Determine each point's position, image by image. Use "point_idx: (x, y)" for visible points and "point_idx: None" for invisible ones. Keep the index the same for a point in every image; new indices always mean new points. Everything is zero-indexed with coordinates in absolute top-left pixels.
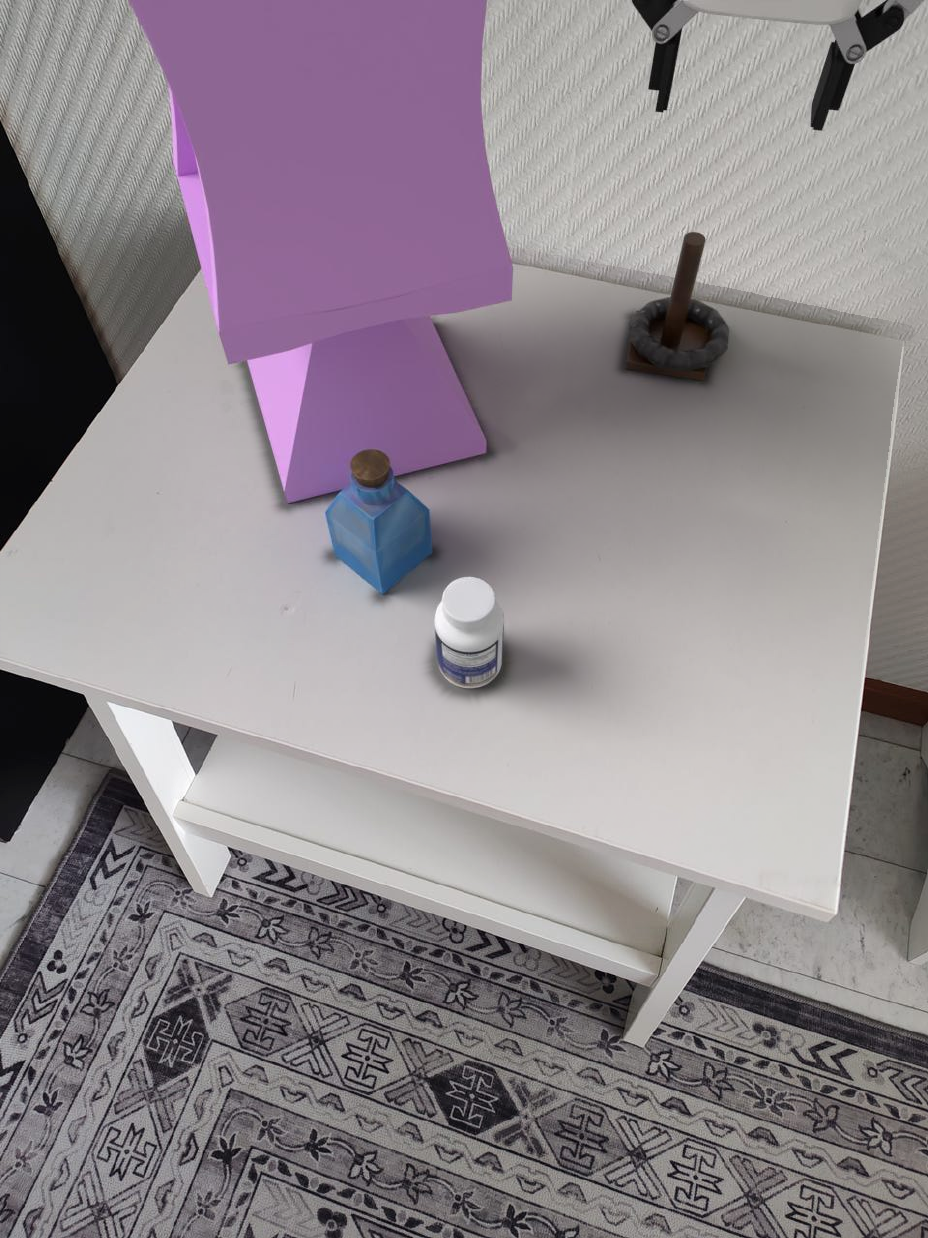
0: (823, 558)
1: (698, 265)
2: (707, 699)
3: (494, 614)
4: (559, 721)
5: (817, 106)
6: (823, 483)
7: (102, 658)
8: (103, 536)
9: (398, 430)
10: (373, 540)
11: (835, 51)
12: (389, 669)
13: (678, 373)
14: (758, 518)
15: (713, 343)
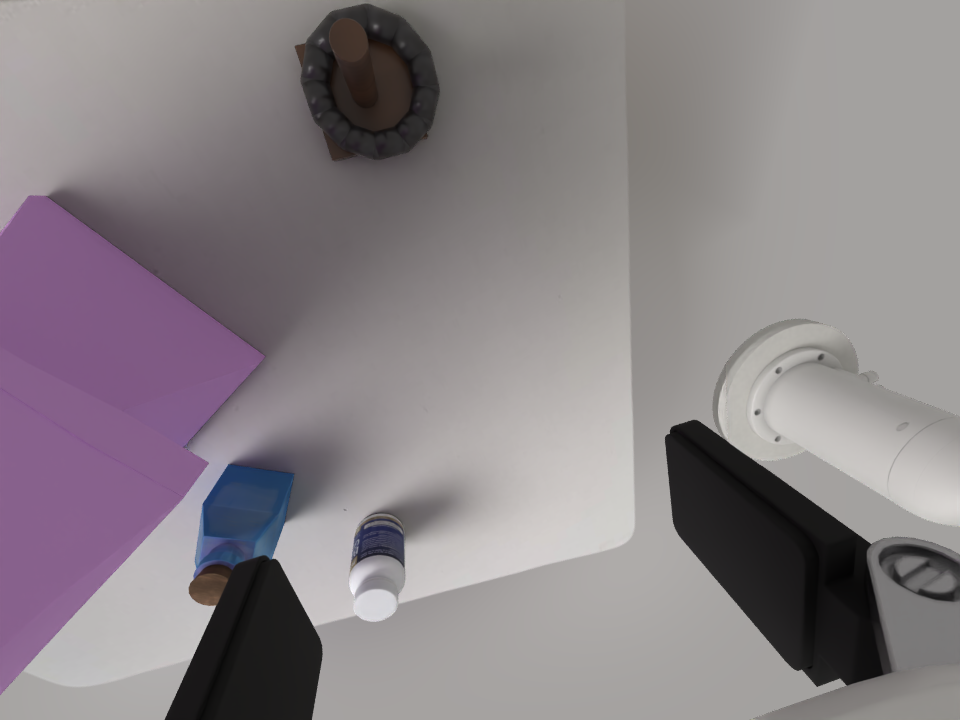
0: (596, 319)
1: (370, 61)
2: (543, 473)
3: (395, 578)
4: (458, 534)
5: (708, 567)
6: (582, 234)
7: (135, 659)
8: None
9: (175, 430)
10: None
11: (819, 622)
12: (331, 563)
13: None
14: (536, 304)
15: (423, 101)
